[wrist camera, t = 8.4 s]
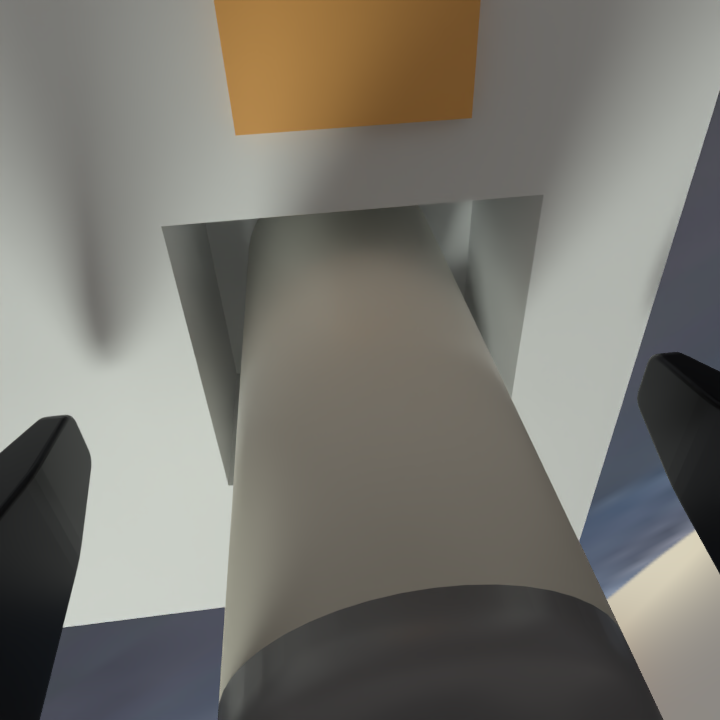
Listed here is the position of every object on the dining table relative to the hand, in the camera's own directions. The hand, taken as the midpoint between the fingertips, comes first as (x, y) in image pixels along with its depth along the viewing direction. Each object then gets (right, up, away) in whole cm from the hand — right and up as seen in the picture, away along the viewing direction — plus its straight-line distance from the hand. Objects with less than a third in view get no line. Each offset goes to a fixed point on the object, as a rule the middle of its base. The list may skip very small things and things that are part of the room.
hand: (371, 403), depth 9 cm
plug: (-1, +3, +4) cm, 5 cm away
